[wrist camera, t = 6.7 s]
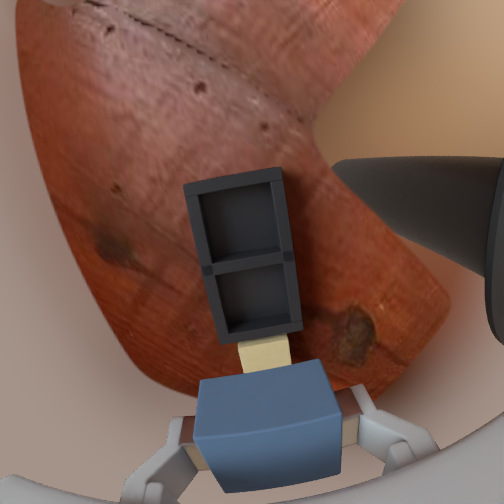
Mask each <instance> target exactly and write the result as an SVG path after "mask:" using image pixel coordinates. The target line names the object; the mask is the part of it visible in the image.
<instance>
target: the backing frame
mask: <svg viewBox="0 0 504 504" xmlns="http://www.w3.org/2000/svg"><path fill="white" fill-rule="evenodd" d="M183 189H184V194H185V197H186V198H185V199H186V204H187V209H188V213H189V218H190V223H191V227H192V232H193V237H194V241H195V246H196V250H197V254H198V259H199V263H200V267H201V272H202V276H203V280H204V284H205V288H206V292H207V296H208V300H209V304H210V308H211V312H212V316H213V320H214V324H215V327H216V331H217V335H218V339H219V342H220V345H222V344H229V343H235V342H241V341H247V340H253V339H259V338H265V337H270V336H276V335H281V334H286V333H291V332H296V331H301V330H304V328H303V320H302V311H301V303H300V294H299V286H298V278H297V271H296V263H295V256H294V249H293V242H292V235H291V228H290V221H289V214H288V208H287V201H286V195H285V189H284V183H283V176H282V170H281V167H273V168H267V169H261V170H255V171H249V172H243V173H238V174H232V175H227V176H221V177H216V178H211V179H206V180H201V181H196V182H192V183H187V184H184V185H183Z"/></svg>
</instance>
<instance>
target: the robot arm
mask: <svg viewBox="0 0 504 504" xmlns="http://www.w3.org/2000/svg"><path fill="white" fill-rule="evenodd" d="M334 393H335V396H336V398H337V400H338V403H339V405H340V408H341V410H342V412H343V428H342V448H343V447H347V446H350V445H354V444H358V445H359V446H360V447H362V448H363V449H365V450H366V451H368V452H369V453H371V454H372V455H374V456H375V457H377V458H378V459H380V460H381V461H383V462H384V463H386V464H385V467H384V470H383V474H382V476H380V477H377V478H374V479H371V480H368V481H365V482H362V483H359V484H356V485H353V486H350V487H346V488H342V489H339V490H335V491H332V492H327V493H323V494H319V495H315V496H310V497H305V498H300V499H295V500H290V501H284V502H277V503H271V504H504V412H502V413H501V414H500V415H498V416H497V417H495V418H494V419H493V420H491V421H489V422H488V423H486V424H485V425H484V426H482V427H480V428H479V429H477V430H475V431H474V432H472V433H470V434H469V435H467V436H465V437H464V438H462V439H460V440H458V441H457V442H455V443H453V444H451V445H449V446H447V447H446V448H444V449H442V450H440V449H439V447H438V445H437V444H436V442H435V441H434V439H433V438H432V436H431V434H430V433H429V431H428V430H427V429H426V428H423V427H421V426H418V425H416V424H414V423H411V422H409V421H407V420H404V419H402V418H400V417H397V416H395V415H393V414H390V413H388V412H386V411H384V410H382V409H379V410H377V409H376V407H375V405H374V403H373V402H372V400H371V398H370V396H369V394H368V393H367V391H366V389H365V387H364V385H363V384H358V385H355V386H352V387H349V388H345V389H342V390H338V391H334ZM195 417H196V416H184V417H173V418H172V419H171V422H170V426H169V431H168V436H167V440H166V445H165V447H161V448H160V449H159V450H158V451H157V452H156V453H154V454H153V455H152V456H151V457H150V458H149V459H148V460H147V461H146V462H145V463H143V464H142V465H141V466H140V467H139V468H138V469H137V470H136V471H135V472H134V473H132V474H131V475H130V476H129V477H128V478H127V479H126V480H125V484H124V487H123V491H122V495H121V498H120V502H112V501H107V500H101V499H96V498H92V497H87V496H82V495H78V494H74V493H70V492H66V491H63V490H60V489H56V488H53V487H49V486H46V485H43V484H40V483H37V482H34V481H32V480H29V479H26V478H23V477H21V476H18V475H14V474H12V475H9V476H6V477H5V478H3V479H1V480H0V504H180V503H179V502H178V501H177V499H178V498H179V497H180V495H181V494H182V493H183V491H184V490H185V489H186V487H187V486H188V485H189V484H190V482H191V481H192V480H193V478H194V477H195V475H196V474H197V473H198V471H204V470H210V468H209V466H208V465H207V463H206V461H205V460H204V458H203V456H202V454H201V453H200V451H199V449H198V447H197V445H196V444H195V442H194V440H193V433H194V425H195Z"/></svg>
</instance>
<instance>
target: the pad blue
mask: <svg viewBox="0 0 504 504" xmlns="http://www.w3.org/2000/svg"><path fill="white" fill-rule="evenodd" d="M342 428H343V412H342V410H341V408H340V405H339V403H338V400H337V398H336V396H335V393H334V391H333V389H332V386H331V384H330V381H329V379H328V377H327V374H326V372H325V370H324V367H323V365H322V363H321V360H320V359H314V360H310V361H305V362H301V363H296V364H292V365H287V366H282V367H277V368H272V369H267V370H261V371H256V372H250V373H244V374H238V375H231V376H225V377H218V378H210V379H202V380H201V381H200V387H199V394H198V402H197V409H196V417H195V425H194V433H193V440H194V442H195V444H196V445H197V447H198V449H199V451H200V453H201V454H202V456H203V458H204V460H205V461H206V463H207V465H208V466H209V468H210V470H211V471H212V473H213V475H214V476H215V478H216V479H217V481H218V483H219V484H220V486H221V487H222V489H223V491H224V492H225V493H236V492H247V491H256V490H264V489H271V488H277V487H283V486H289V485H294V484H299V483H304V482H309V481H313V480H318V479H322V478H326V477H330V476H334V475H338V474H340V472H341V455H342Z"/></svg>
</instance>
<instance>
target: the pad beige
mask: <svg viewBox="0 0 504 504" xmlns="http://www.w3.org/2000/svg"><path fill="white" fill-rule="evenodd" d="M238 350H239V354H240V359H241V363H242V367H243V371H244V373H250V372H256V371H261V370H267V369H272V368H277V367H282V366H287V365H292V363H291V356H290V349H289V341H288V337H287V334H281V335H276V336H270V337H265V338H259V339H253V340H247V341H241V342H238Z"/></svg>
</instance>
